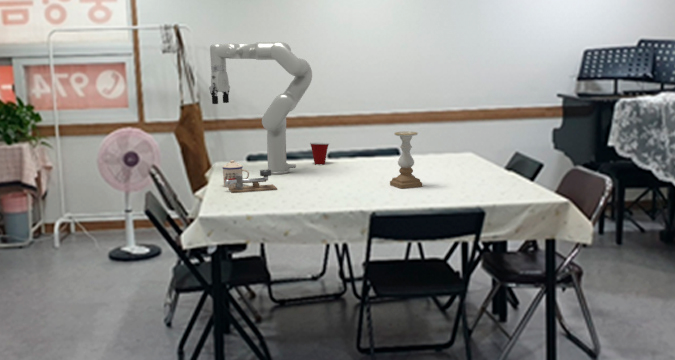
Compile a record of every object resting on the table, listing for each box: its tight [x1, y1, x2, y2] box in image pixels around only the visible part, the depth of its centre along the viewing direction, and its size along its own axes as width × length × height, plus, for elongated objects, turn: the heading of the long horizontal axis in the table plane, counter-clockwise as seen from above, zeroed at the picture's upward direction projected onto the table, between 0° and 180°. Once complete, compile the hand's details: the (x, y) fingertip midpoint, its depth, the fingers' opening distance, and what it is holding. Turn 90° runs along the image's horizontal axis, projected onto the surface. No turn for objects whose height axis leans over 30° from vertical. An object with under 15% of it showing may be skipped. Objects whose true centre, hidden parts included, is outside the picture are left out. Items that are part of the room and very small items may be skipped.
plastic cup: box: [309, 142, 330, 165], centre depth 372 cm, size 11×11×12 cm
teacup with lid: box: [222, 159, 250, 188], centre depth 310 cm, size 12×9×12 cm
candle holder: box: [389, 131, 423, 190], centre depth 300 cm, size 11×11×24 cm
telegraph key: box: [228, 174, 278, 194], centre depth 299 cm, size 20×10×7 cm, turn 107°
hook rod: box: [225, 169, 272, 185], centre depth 299 cm, size 21×5×5 cm, turn 107°
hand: (220, 103), depth 345 cm, fingers open, 9 cm apart
